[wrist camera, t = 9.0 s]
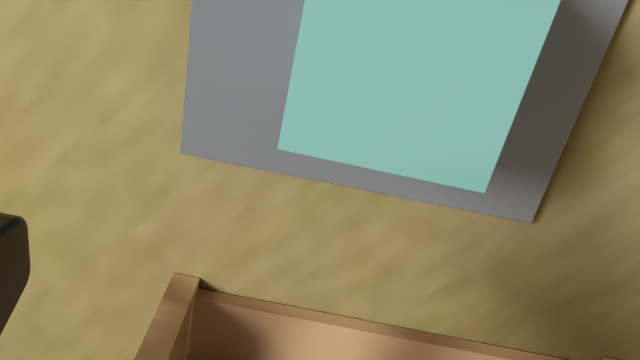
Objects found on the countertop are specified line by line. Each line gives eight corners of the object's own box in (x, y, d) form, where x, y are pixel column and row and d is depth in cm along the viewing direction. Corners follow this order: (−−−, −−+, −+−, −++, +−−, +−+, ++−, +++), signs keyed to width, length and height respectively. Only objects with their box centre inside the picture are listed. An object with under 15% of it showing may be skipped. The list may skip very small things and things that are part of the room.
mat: (183, 147, 21) (180, 152, 20) (218, -290, 15) (215, -292, 14) (528, 216, 21) (531, 222, 21) (701, -185, 15) (709, -185, 15)
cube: (299, 75, 19) (277, 148, 14) (333, -101, 16) (318, -77, 12) (458, 110, 19) (484, 193, 14) (516, -59, 16) (568, -20, 12)
